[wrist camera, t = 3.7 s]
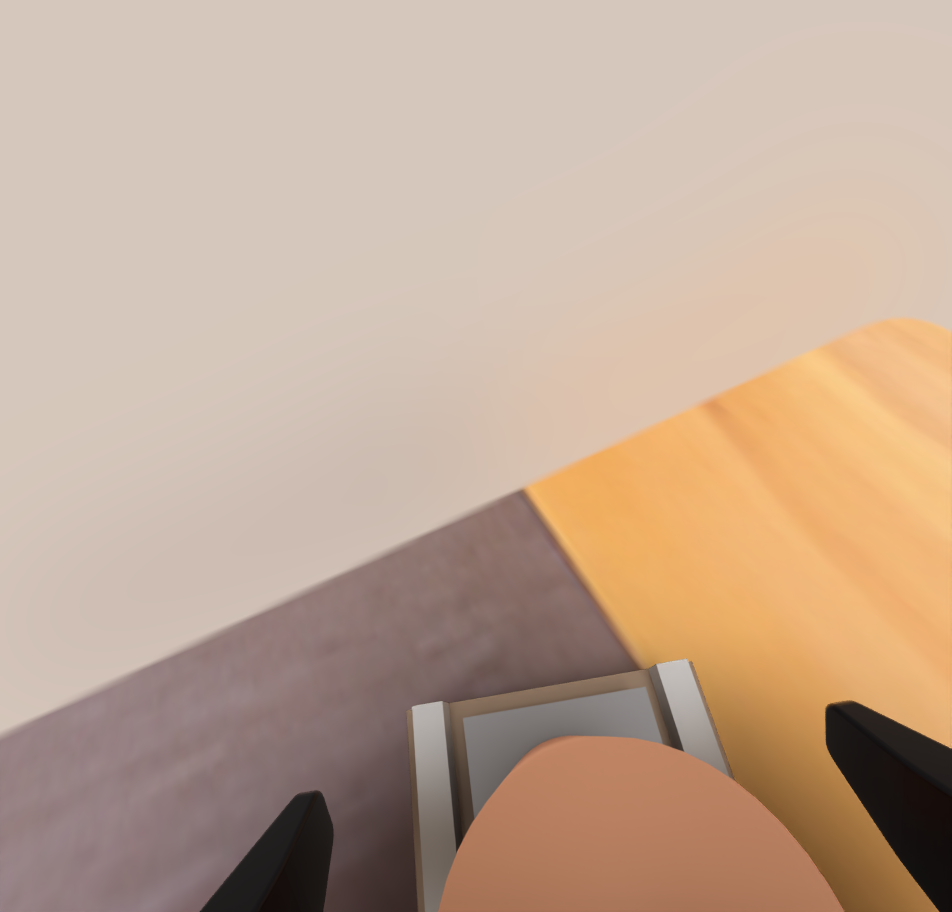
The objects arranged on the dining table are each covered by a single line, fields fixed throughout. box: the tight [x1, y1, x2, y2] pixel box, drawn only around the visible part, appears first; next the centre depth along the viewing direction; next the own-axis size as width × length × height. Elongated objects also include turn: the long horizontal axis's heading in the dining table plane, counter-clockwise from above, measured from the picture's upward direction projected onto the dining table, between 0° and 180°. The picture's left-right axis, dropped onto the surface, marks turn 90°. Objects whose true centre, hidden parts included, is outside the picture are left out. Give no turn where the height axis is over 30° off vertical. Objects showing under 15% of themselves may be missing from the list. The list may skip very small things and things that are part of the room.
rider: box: [438, 687, 844, 912], centre depth 7 cm, size 5×4×9 cm
